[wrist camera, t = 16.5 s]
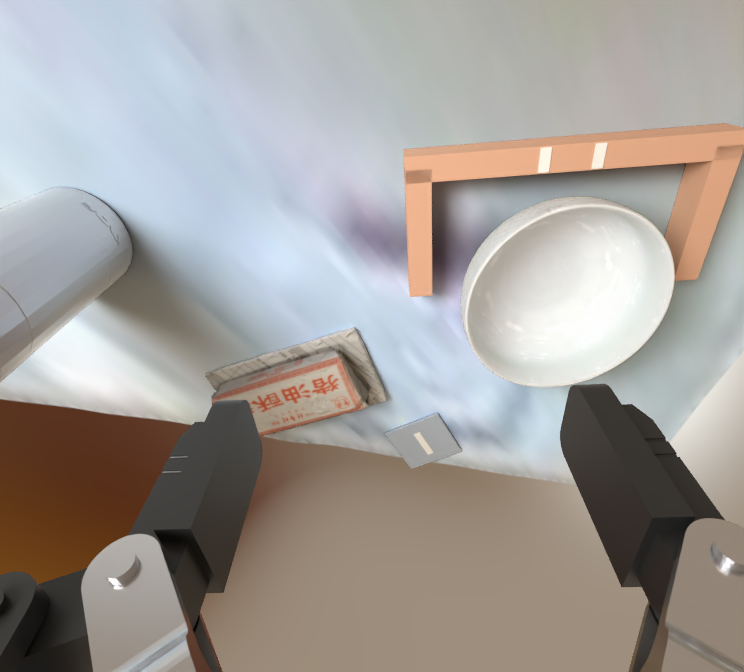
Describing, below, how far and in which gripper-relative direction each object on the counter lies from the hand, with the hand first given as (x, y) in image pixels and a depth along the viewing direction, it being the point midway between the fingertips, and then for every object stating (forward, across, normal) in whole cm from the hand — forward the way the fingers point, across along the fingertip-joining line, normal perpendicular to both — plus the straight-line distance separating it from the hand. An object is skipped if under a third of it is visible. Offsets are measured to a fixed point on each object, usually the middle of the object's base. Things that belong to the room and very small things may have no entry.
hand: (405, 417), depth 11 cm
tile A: (+30, -2, +33) cm, 45 cm away
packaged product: (+31, +12, +23) cm, 40 cm away
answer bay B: (+30, -14, +5) cm, 33 cm away
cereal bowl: (+30, -14, +11) cm, 35 cm away
